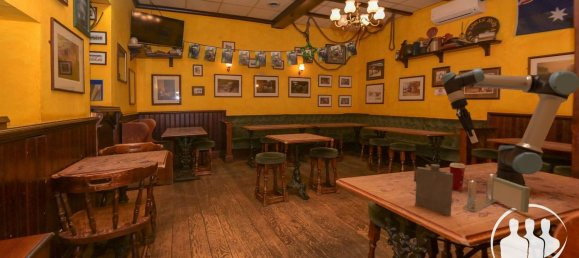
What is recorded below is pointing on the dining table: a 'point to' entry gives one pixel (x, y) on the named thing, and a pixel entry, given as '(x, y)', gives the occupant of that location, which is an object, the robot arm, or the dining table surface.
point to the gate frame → (482, 202)
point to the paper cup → (457, 175)
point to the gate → (511, 194)
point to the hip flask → (434, 189)
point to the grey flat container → (416, 172)
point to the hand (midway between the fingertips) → (475, 142)
